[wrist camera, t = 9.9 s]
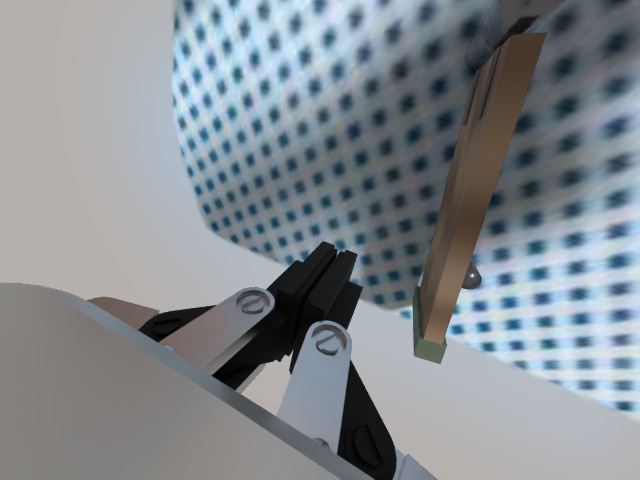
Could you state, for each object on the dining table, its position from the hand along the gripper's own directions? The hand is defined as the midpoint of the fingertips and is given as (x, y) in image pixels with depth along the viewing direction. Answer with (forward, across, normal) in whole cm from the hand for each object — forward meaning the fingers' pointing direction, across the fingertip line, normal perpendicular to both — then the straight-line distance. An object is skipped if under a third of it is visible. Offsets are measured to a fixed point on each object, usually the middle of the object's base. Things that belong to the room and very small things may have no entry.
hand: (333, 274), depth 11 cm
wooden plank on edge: (+12, -6, -1) cm, 14 cm away
